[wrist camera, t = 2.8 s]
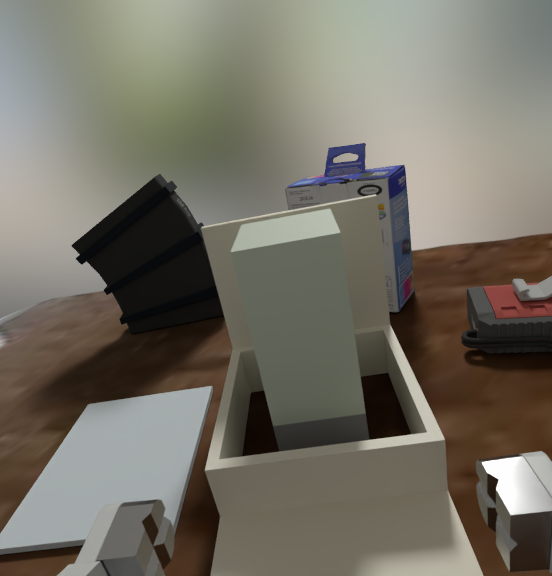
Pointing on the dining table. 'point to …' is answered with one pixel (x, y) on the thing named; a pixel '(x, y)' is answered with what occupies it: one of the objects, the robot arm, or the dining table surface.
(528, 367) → the dining table surface
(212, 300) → the magazine
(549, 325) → the walkie-talkie
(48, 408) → the dining table surface
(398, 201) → the ink cartridge box
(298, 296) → the box
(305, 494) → the carton
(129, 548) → the robot arm
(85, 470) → the mat
